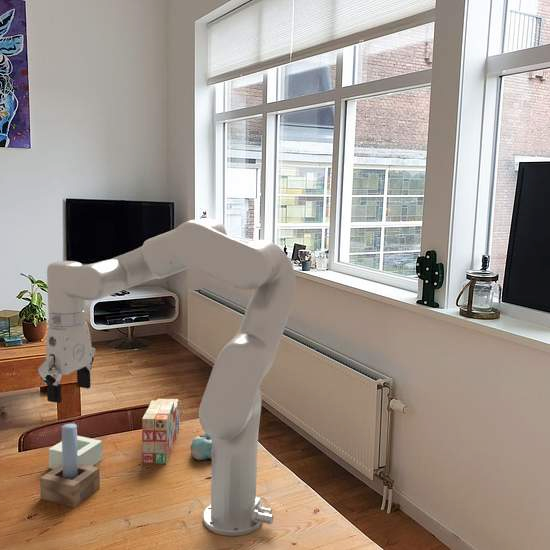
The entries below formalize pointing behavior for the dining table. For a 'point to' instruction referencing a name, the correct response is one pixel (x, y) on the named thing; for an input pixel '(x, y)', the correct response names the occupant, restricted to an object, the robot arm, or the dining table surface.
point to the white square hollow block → (78, 452)
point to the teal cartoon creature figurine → (202, 447)
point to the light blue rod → (69, 451)
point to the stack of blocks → (159, 430)
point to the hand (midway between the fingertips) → (69, 394)
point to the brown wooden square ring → (70, 485)
